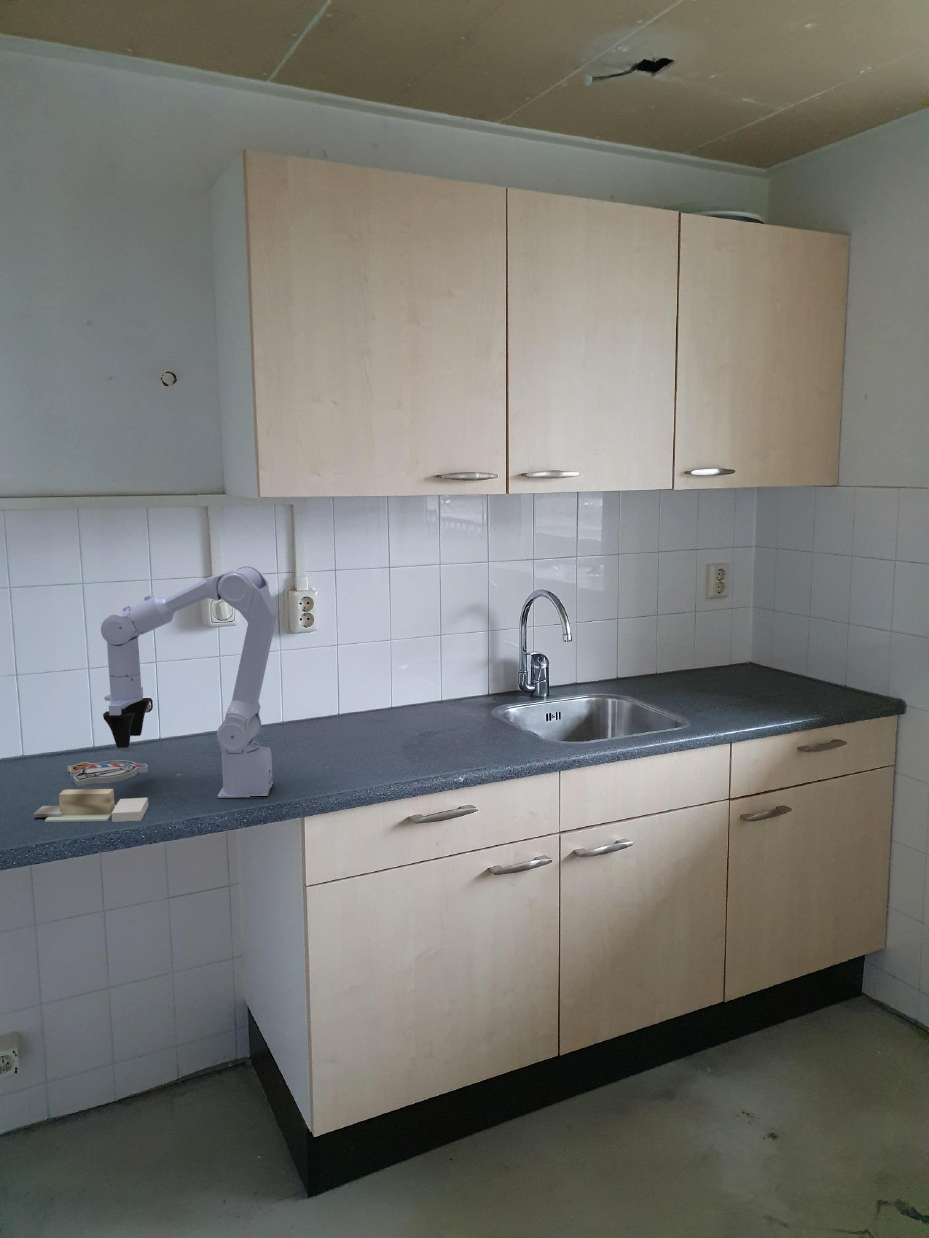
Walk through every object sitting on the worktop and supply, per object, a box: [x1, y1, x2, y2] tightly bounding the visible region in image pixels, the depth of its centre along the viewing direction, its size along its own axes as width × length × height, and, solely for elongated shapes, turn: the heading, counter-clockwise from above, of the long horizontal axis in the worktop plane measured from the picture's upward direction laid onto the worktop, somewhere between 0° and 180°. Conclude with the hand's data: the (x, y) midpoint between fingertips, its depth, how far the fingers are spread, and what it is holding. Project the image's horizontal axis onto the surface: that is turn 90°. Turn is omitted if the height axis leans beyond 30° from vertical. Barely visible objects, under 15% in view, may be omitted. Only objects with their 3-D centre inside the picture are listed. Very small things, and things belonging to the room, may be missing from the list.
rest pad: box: [44, 804, 117, 823], centre depth 172 cm, size 11×7×1 cm, turn 92°
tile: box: [111, 797, 149, 823], centre depth 172 cm, size 5×2×7 cm
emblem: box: [66, 759, 149, 787], centre depth 194 cm, size 12×2×15 cm
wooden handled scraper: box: [33, 788, 116, 818], centre depth 171 cm, size 14×4×4 cm, turn 92°
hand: (129, 741), depth 183 cm, fingers open, 7 cm apart
